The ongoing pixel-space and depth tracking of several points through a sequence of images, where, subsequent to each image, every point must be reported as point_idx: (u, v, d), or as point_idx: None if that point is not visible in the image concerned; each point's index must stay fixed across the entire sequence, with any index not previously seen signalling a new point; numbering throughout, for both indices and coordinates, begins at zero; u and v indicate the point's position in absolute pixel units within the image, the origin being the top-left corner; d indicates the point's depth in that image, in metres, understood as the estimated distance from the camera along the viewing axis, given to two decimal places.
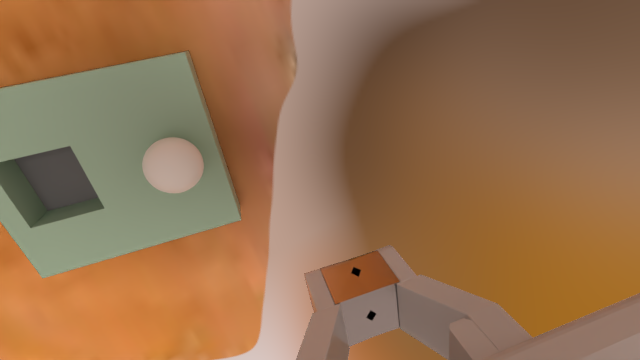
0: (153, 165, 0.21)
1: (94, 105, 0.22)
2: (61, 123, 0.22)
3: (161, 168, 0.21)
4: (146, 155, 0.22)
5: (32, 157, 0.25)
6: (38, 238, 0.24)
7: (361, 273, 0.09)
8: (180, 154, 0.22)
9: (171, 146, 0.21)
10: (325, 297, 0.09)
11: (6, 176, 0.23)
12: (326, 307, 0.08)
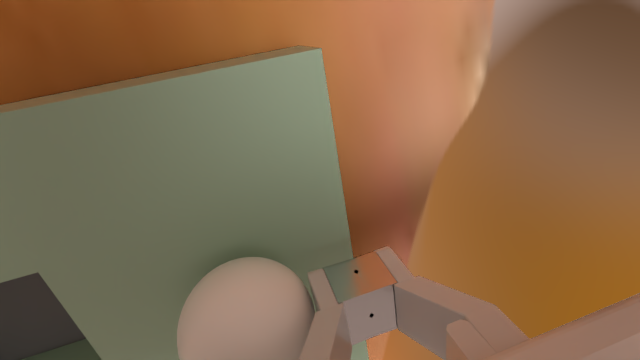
0: (185, 355, 0.08)
1: (96, 179, 0.09)
2: (14, 225, 0.09)
3: None
4: (184, 310, 0.09)
5: None
6: None
7: (358, 274, 0.09)
8: (249, 348, 0.08)
9: (233, 319, 0.08)
10: (328, 296, 0.09)
11: None
12: (329, 306, 0.08)
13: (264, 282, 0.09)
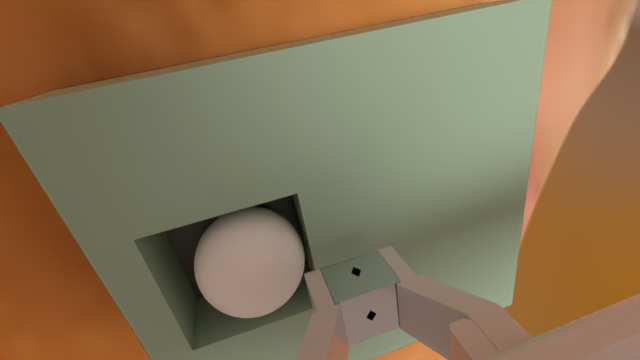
0: (294, 239, 0.11)
1: (362, 108, 0.10)
2: (293, 147, 0.10)
3: (298, 236, 0.12)
4: (270, 240, 0.11)
5: None
6: None
7: (361, 273, 0.09)
8: None
9: (266, 209, 0.12)
10: (325, 297, 0.09)
11: (156, 253, 0.11)
12: (326, 307, 0.08)
13: None
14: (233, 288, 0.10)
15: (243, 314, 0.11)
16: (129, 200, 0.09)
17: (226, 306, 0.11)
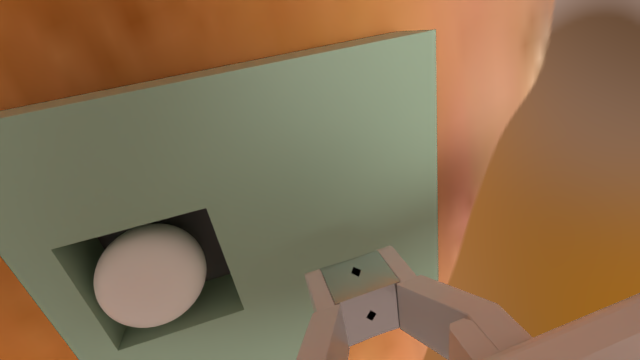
0: (177, 267, 0.12)
1: (260, 132, 0.11)
2: (197, 167, 0.11)
3: (190, 264, 0.12)
4: (144, 265, 0.11)
5: None
6: None
7: (361, 273, 0.09)
8: (188, 234, 0.13)
9: (171, 230, 0.13)
10: (325, 297, 0.09)
11: (81, 261, 0.12)
12: (326, 307, 0.08)
13: (148, 224, 0.13)
14: (103, 300, 0.11)
15: (120, 322, 0.12)
16: (43, 214, 0.10)
17: (105, 312, 0.12)
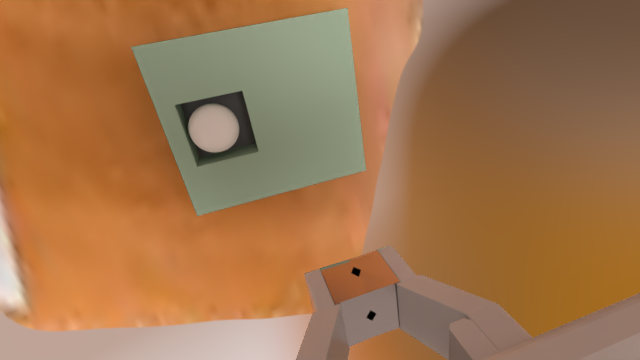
0: (228, 119, 0.25)
1: (267, 53, 0.25)
2: (239, 69, 0.25)
3: (232, 120, 0.26)
4: (213, 114, 0.25)
5: (196, 104, 0.27)
6: (201, 177, 0.27)
7: (361, 273, 0.09)
8: None
9: None
10: (325, 297, 0.09)
11: (182, 118, 0.26)
12: (326, 307, 0.08)
13: None
14: (195, 130, 0.25)
15: (200, 144, 0.25)
16: (174, 86, 0.24)
17: (194, 139, 0.25)
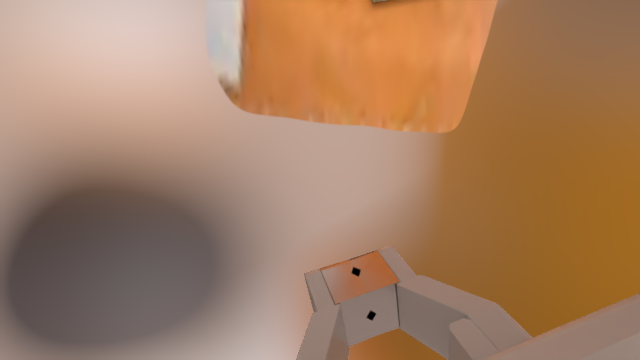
0: None
1: None
2: None
3: None
4: None
5: None
6: None
7: (361, 273, 0.09)
8: None
9: None
10: (325, 297, 0.09)
11: None
12: (326, 307, 0.08)
13: None
14: None
15: None
16: None
17: None
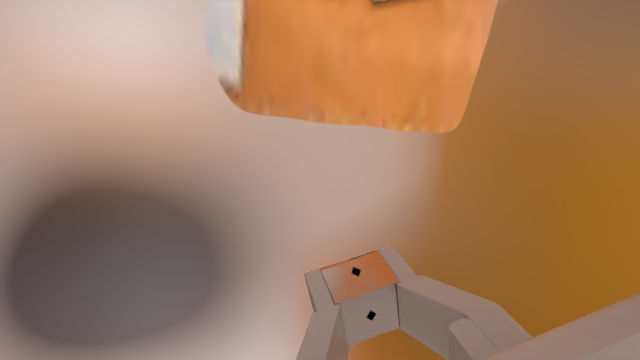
0: None
1: None
2: None
3: None
4: None
5: None
6: None
7: (361, 273, 0.09)
8: None
9: None
10: (325, 297, 0.09)
11: None
12: (326, 307, 0.08)
13: None
14: None
15: None
16: None
17: None
